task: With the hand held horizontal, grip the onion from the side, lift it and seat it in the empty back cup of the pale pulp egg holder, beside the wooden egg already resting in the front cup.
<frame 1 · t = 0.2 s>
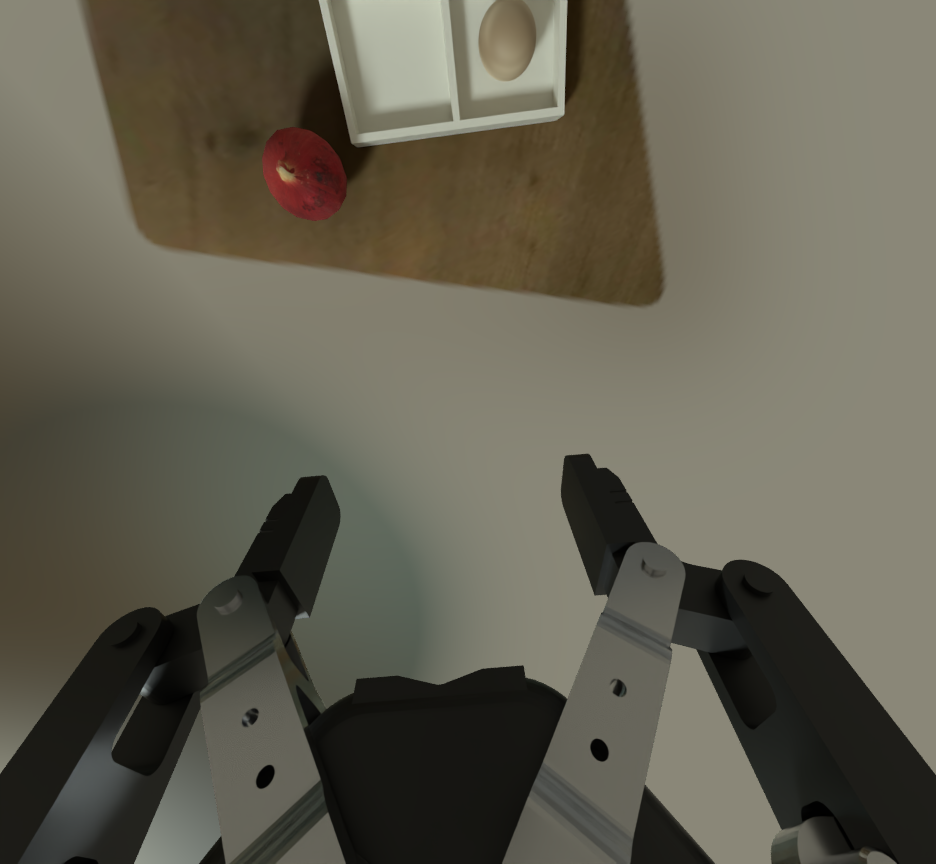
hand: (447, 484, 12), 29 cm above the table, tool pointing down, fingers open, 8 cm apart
onion: (320, 179, 31), on the table
egg holder: (449, 62, 27), on the table
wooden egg: (502, 51, 26), point 1 cm above the table, touching egg holder
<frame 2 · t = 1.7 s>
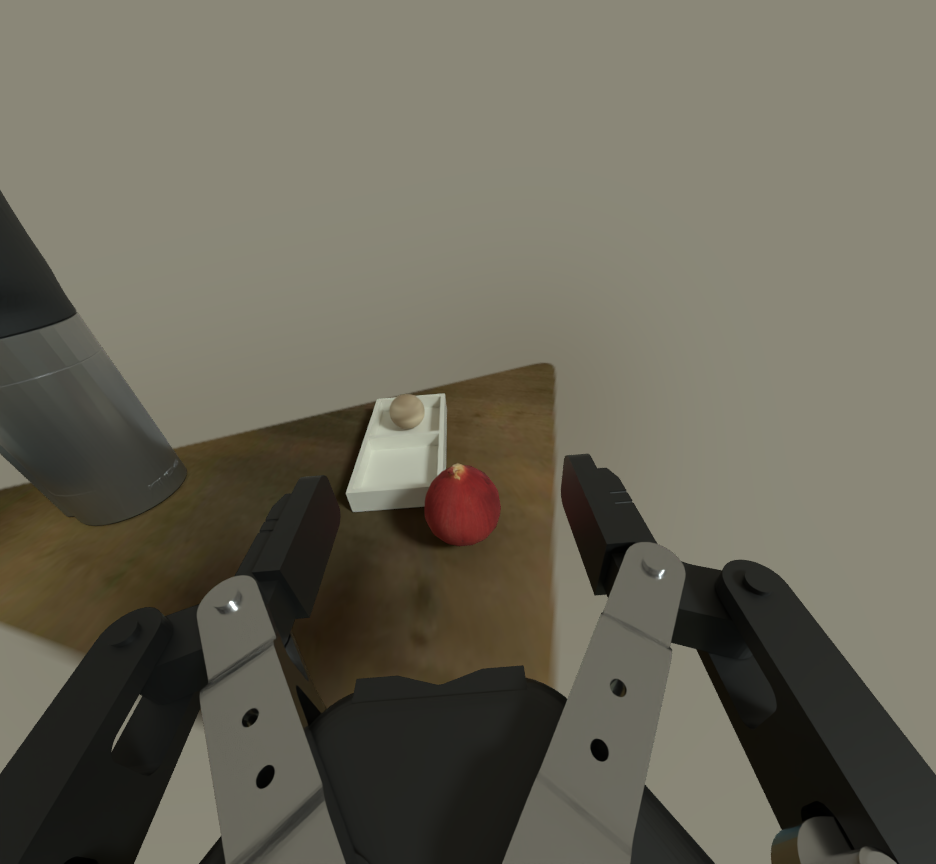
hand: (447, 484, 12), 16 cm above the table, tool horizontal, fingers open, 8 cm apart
onion: (466, 538, 30), on the table
egg holder: (407, 452, 39), on the table
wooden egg: (409, 425, 42), point 1 cm above the table, touching egg holder
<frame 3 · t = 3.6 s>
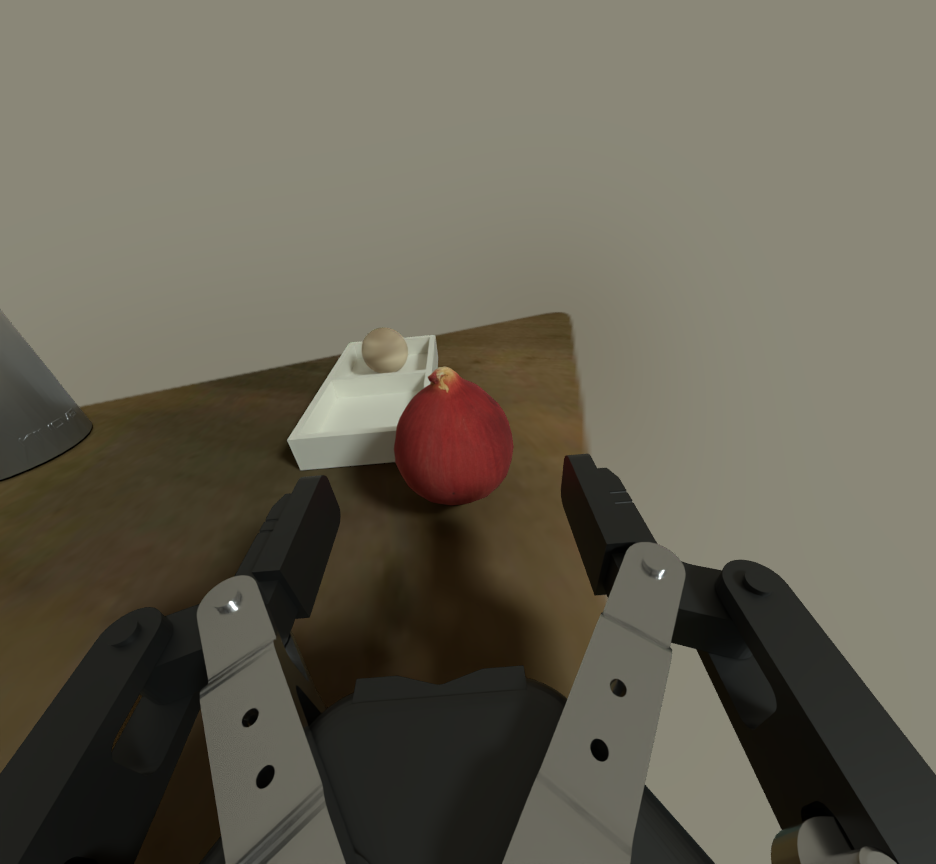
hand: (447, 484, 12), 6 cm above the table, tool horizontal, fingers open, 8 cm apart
onion: (461, 501, 20), on the table
egg holder: (385, 401, 30), on the table
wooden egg: (389, 371, 33), point 1 cm above the table, touching egg holder
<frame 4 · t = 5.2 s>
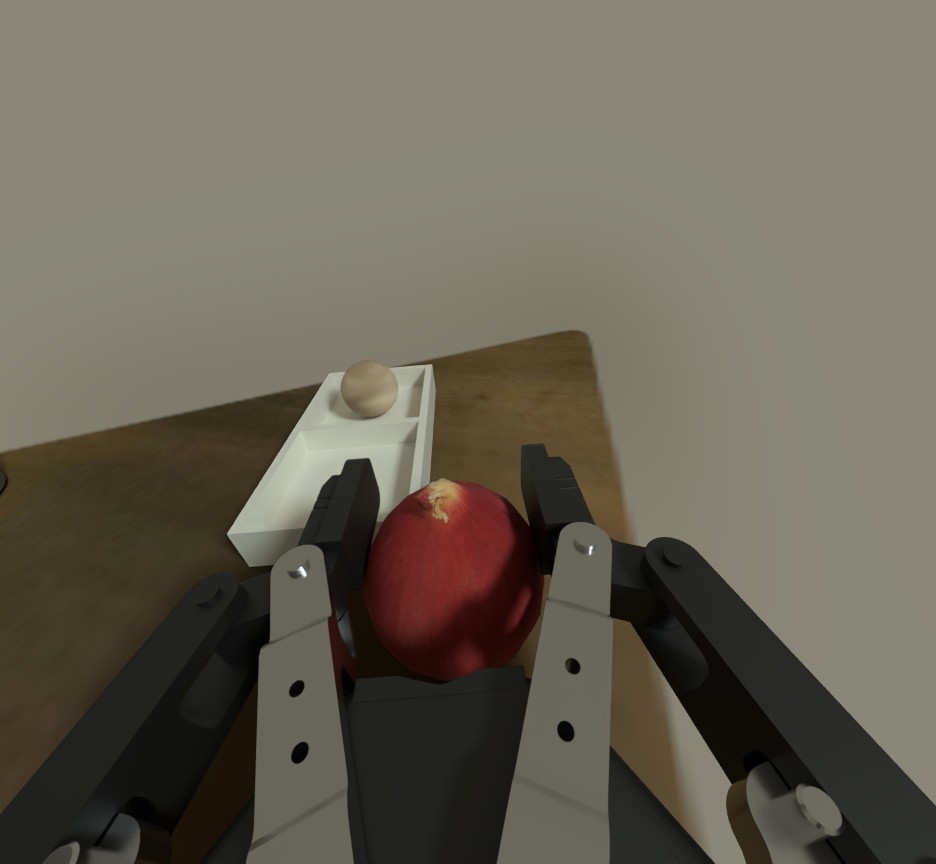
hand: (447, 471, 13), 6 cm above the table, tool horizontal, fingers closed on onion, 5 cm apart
onion: (464, 631, 14), on the table, touching gripper
egg holder: (368, 453, 24), on the table
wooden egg: (376, 412, 27), point 1 cm above the table, touching egg holder
when the fingers open (8 cm above the table, at t = 10.1 s): onion drops 1 cm, resting on egg holder.
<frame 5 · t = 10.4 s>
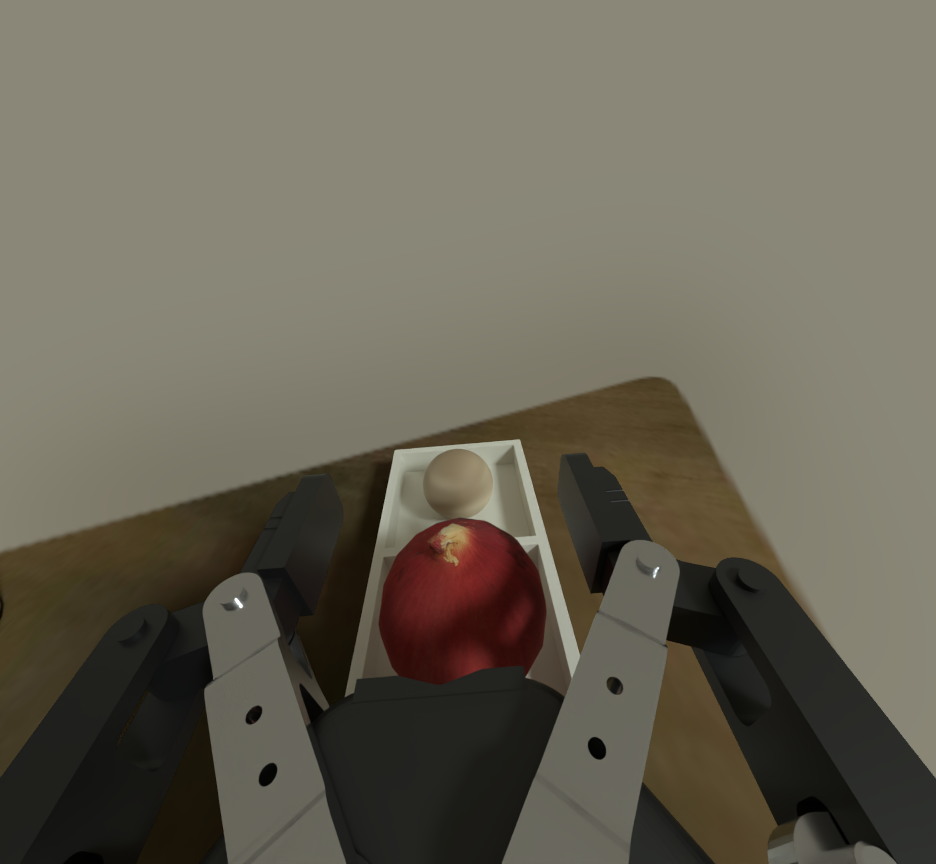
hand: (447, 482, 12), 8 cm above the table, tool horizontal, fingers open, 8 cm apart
onion: (470, 655, 15), point 1 cm above the table, touching egg holder
egg holder: (464, 575, 19), on the table
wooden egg: (461, 507, 22), point 1 cm above the table, touching egg holder
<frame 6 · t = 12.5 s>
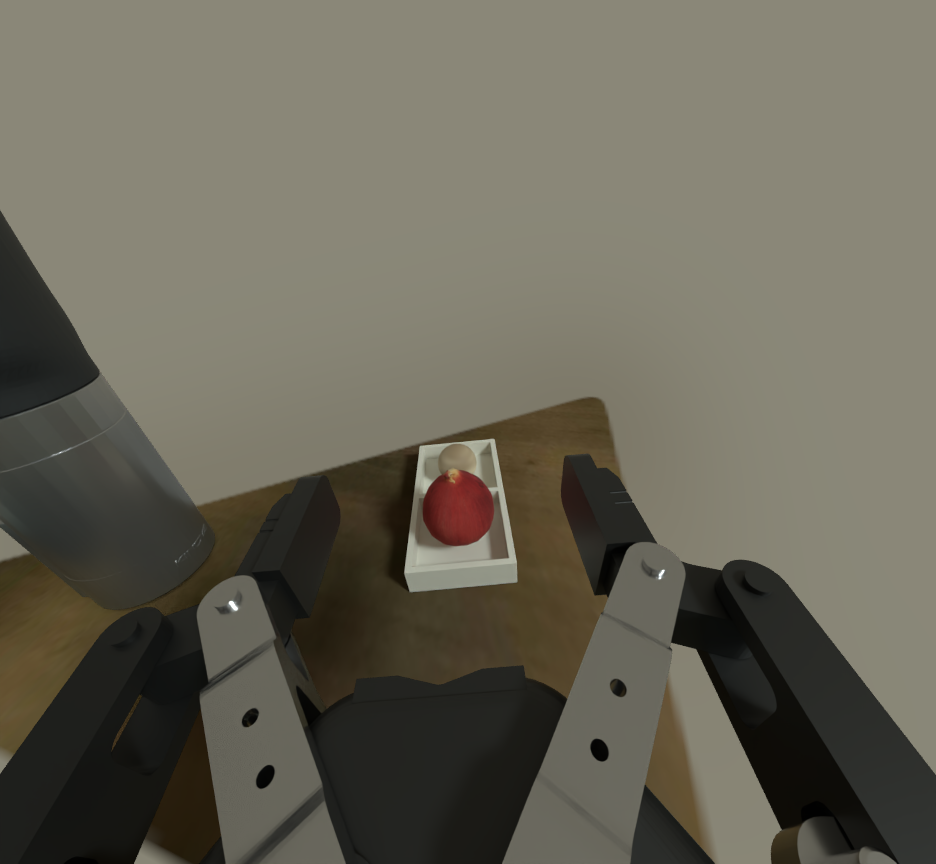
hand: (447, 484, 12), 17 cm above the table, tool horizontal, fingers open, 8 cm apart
onion: (463, 540, 31), point 1 cm above the table, touching egg holder
egg holder: (460, 510, 35), on the table
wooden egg: (459, 477, 38), point 1 cm above the table, touching egg holder
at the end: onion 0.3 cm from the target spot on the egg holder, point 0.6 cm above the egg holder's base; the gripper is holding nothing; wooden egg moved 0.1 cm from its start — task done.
